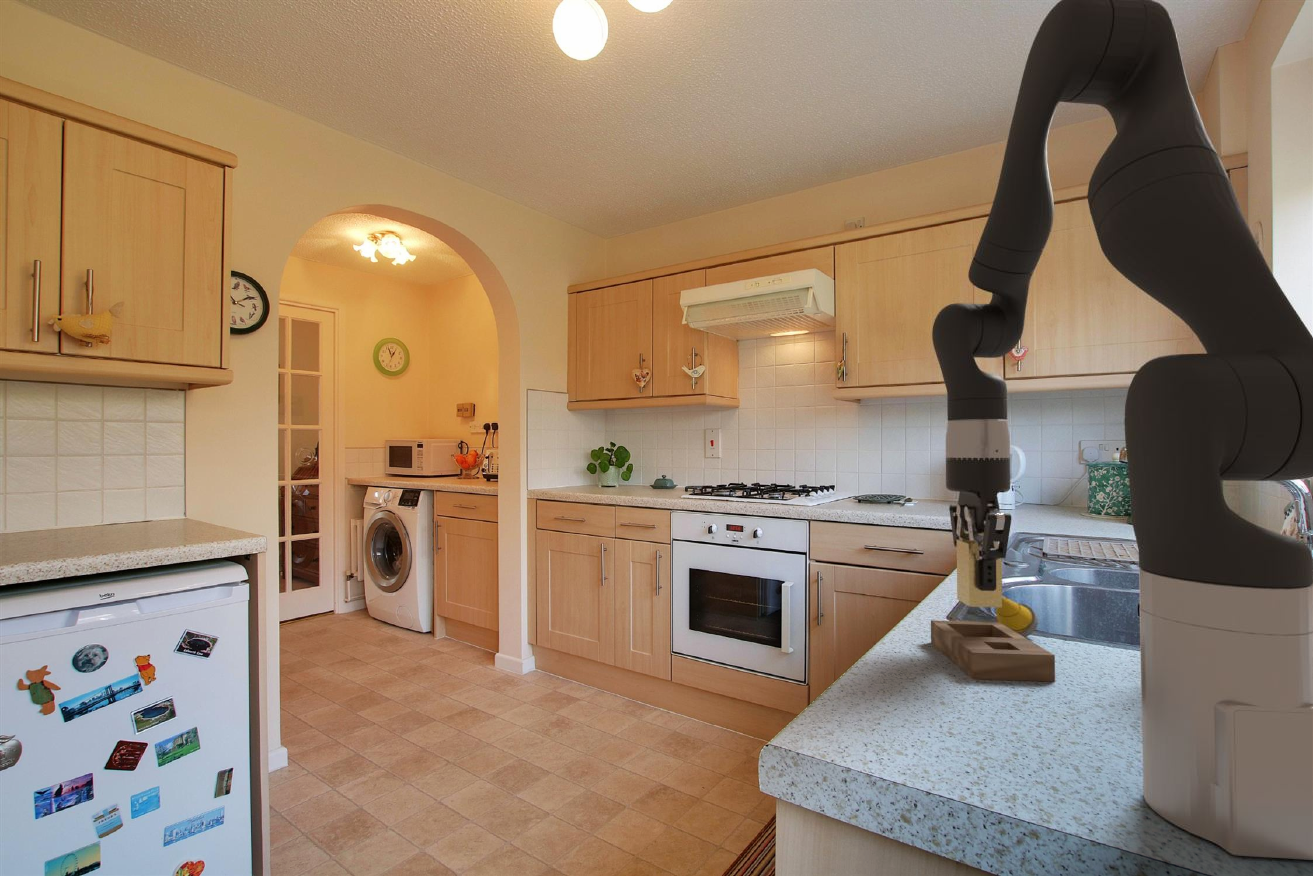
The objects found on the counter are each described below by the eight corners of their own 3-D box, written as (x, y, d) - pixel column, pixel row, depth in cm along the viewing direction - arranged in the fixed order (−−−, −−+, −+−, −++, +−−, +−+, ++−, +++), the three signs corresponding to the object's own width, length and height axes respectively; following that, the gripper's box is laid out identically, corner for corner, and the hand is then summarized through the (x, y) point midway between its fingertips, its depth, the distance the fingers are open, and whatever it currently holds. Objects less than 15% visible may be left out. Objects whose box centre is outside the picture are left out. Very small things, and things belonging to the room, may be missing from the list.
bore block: (1055, 681, 71) (1054, 655, 71) (972, 678, 71) (972, 652, 71) (999, 644, 84) (998, 622, 85) (930, 642, 85) (930, 620, 85)
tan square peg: (1002, 607, 78) (1001, 544, 79) (969, 606, 79) (968, 543, 79) (988, 599, 82) (987, 539, 83) (957, 599, 83) (956, 539, 83)
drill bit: (1051, 645, 86) (1018, 601, 82) (1011, 655, 88) (977, 612, 85) (1041, 615, 90) (1009, 571, 87) (1003, 624, 93) (971, 583, 89)
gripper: (1035, 455, 74) (1036, 600, 73) (983, 454, 88) (985, 576, 87) (969, 455, 74) (970, 598, 74) (929, 454, 89) (930, 574, 88)
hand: (978, 585), depth 81 cm, fingers closed on tan square peg, 4 cm apart
